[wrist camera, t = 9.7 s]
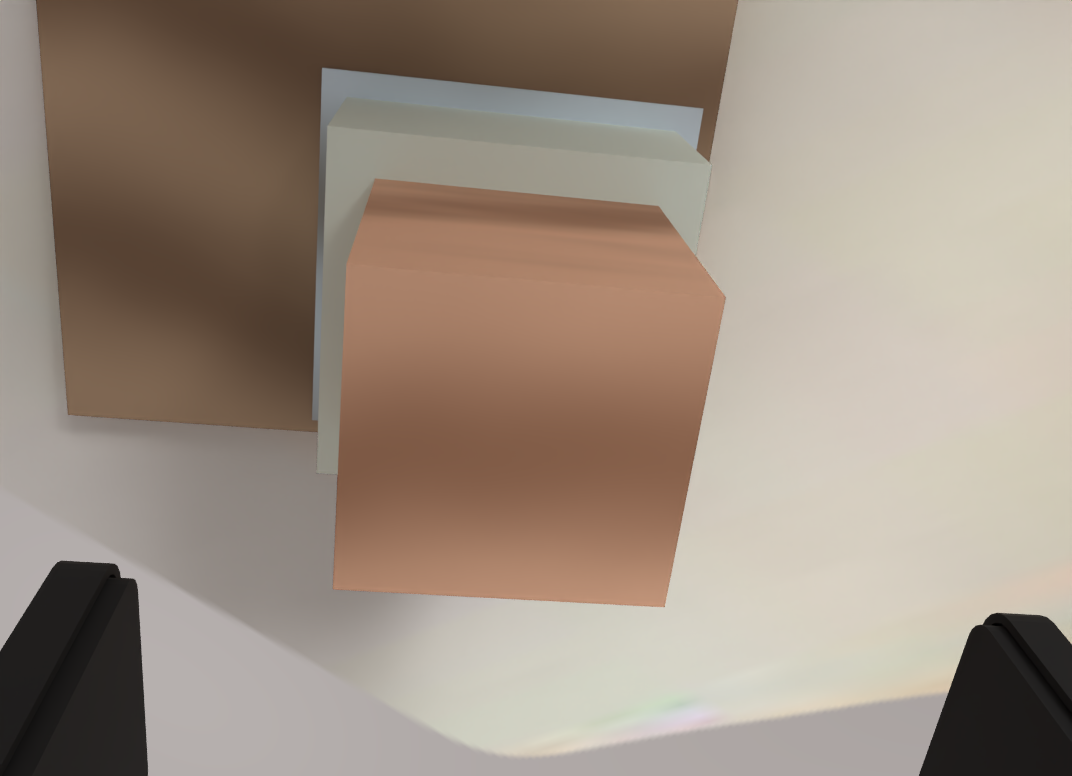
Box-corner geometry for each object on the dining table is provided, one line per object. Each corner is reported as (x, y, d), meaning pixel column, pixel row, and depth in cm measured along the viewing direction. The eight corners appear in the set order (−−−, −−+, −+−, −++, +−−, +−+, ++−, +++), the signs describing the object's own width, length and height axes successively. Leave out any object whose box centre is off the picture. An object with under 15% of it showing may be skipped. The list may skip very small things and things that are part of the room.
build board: (19, -515, 20) (-8, -544, 19) (793, -389, 22) (812, -407, 21) (83, 396, 28) (66, 416, 27) (648, 436, 30) (656, 457, 29)
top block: (375, 178, 21) (346, 263, 16) (658, 205, 22) (726, 297, 16) (361, 437, 24) (332, 589, 18) (617, 454, 24) (664, 606, 19)
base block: (346, 96, 24) (327, 125, 21) (675, 131, 25) (712, 164, 22) (335, 401, 28) (316, 473, 24) (627, 422, 28) (652, 495, 25)
